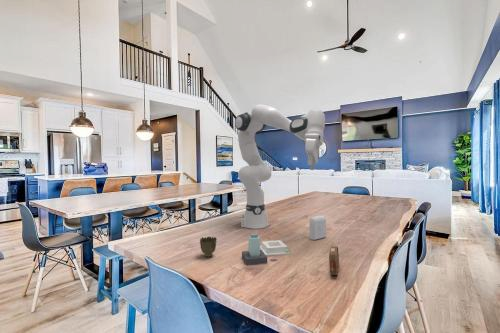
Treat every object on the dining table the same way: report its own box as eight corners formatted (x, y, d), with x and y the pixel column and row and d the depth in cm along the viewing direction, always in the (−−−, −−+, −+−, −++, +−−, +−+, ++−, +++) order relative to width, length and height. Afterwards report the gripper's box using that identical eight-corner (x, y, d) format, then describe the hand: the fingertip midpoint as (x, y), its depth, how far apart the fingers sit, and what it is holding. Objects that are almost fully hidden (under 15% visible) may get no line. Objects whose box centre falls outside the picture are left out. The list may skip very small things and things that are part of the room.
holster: (242, 257, 115) (241, 251, 115) (261, 255, 117) (261, 249, 117) (246, 265, 106) (246, 259, 106) (267, 263, 108) (267, 257, 108)
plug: (248, 258, 113) (248, 233, 113) (257, 257, 114) (257, 232, 114) (250, 262, 109) (250, 236, 109) (259, 261, 110) (259, 235, 110)
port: (258, 247, 127) (258, 241, 127) (281, 245, 130) (281, 239, 130) (265, 256, 116) (265, 249, 116) (290, 253, 119) (290, 247, 118)
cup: (202, 253, 120) (201, 236, 120) (217, 253, 120) (217, 236, 119) (198, 259, 112) (198, 241, 112) (215, 259, 112) (215, 241, 112)
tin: (337, 279, 94) (337, 256, 93) (328, 278, 95) (328, 255, 95) (339, 263, 108) (339, 243, 107) (331, 262, 109) (331, 242, 109)
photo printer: (321, 235, 146) (321, 213, 145) (327, 237, 142) (327, 215, 142) (308, 238, 140) (308, 216, 140) (314, 240, 137) (314, 217, 136)
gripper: (310, 146, 140) (307, 171, 137) (304, 132, 121) (301, 161, 118) (322, 147, 137) (319, 172, 134) (318, 133, 119) (315, 162, 116)
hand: (310, 167), depth 126 cm, fingers open, 8 cm apart
